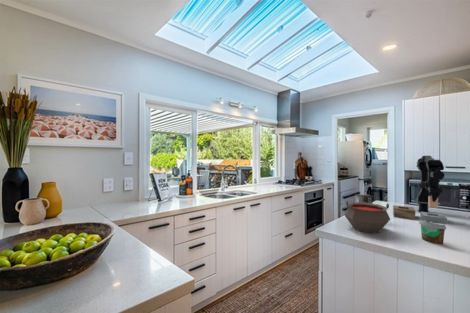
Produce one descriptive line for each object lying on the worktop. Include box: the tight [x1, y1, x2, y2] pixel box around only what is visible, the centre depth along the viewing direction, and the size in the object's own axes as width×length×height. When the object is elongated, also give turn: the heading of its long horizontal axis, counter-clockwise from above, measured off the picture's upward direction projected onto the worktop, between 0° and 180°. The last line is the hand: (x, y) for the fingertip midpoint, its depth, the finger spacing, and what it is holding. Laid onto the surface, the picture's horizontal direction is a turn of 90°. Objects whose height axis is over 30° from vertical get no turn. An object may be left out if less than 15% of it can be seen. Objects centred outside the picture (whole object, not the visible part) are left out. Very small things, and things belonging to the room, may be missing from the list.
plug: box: [428, 196, 439, 209], centre depth 153 cm, size 4×4×7 cm
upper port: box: [392, 204, 416, 221], centre depth 162 cm, size 12×12×6 cm
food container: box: [418, 218, 447, 245], centre depth 117 cm, size 12×6×10 cm, turn 5°
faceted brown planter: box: [344, 200, 391, 234], centre depth 135 cm, size 24×24×16 cm
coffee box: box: [354, 193, 373, 204], centre depth 157 cm, size 9×6×16 cm
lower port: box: [419, 212, 448, 225], centre depth 153 cm, size 12×12×4 cm
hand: (433, 201), depth 153 cm, fingers closed on plug, 4 cm apart
